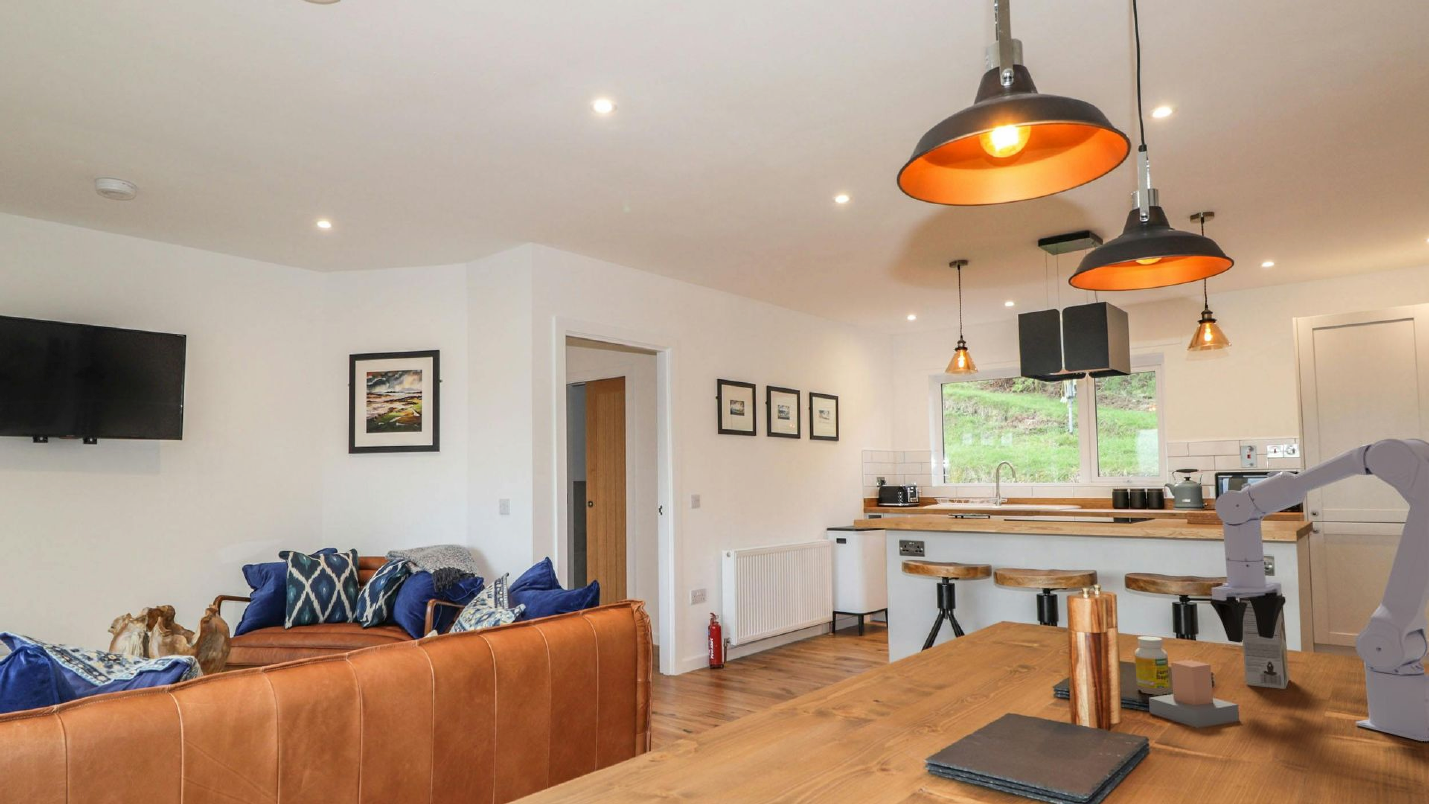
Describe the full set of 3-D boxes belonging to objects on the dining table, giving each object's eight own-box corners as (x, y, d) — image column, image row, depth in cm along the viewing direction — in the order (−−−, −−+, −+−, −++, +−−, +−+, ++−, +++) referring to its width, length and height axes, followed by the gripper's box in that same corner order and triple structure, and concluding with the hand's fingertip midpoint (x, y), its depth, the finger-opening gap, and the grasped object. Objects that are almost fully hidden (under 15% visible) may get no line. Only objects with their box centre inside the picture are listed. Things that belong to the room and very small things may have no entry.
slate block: (1239, 723, 135) (1238, 704, 135) (1197, 731, 132) (1196, 711, 132) (1190, 709, 143) (1189, 691, 144) (1150, 716, 140) (1148, 697, 140)
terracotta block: (1213, 702, 137) (1210, 664, 137) (1195, 705, 135) (1192, 667, 136) (1191, 696, 140) (1188, 659, 141) (1173, 699, 139) (1170, 662, 139)
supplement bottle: (1147, 687, 157) (1143, 634, 158) (1176, 692, 152) (1172, 638, 153) (1131, 691, 154) (1127, 637, 155) (1160, 697, 149) (1156, 642, 150)
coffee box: (1250, 675, 164) (1243, 590, 165) (1290, 679, 160) (1283, 592, 161) (1245, 685, 156) (1238, 596, 158) (1286, 689, 152) (1279, 599, 154)
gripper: (1252, 555, 154) (1258, 631, 153) (1193, 560, 149) (1199, 639, 148) (1290, 558, 147) (1297, 638, 146) (1230, 564, 142) (1237, 646, 141)
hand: (1250, 639), depth 146 cm, fingers open, 7 cm apart
